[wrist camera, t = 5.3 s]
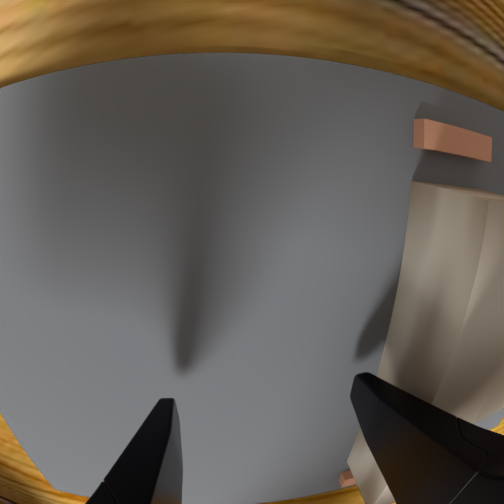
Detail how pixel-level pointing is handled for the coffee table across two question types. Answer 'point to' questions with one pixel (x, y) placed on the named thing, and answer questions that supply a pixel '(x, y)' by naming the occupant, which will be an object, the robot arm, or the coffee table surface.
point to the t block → (444, 314)
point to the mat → (213, 257)
